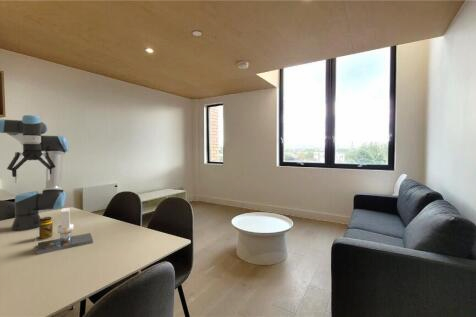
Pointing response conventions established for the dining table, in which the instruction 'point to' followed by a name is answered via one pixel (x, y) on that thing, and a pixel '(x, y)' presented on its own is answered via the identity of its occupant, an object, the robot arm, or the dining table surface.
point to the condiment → (45, 229)
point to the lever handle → (65, 221)
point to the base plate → (60, 245)
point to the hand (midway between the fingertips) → (33, 181)
